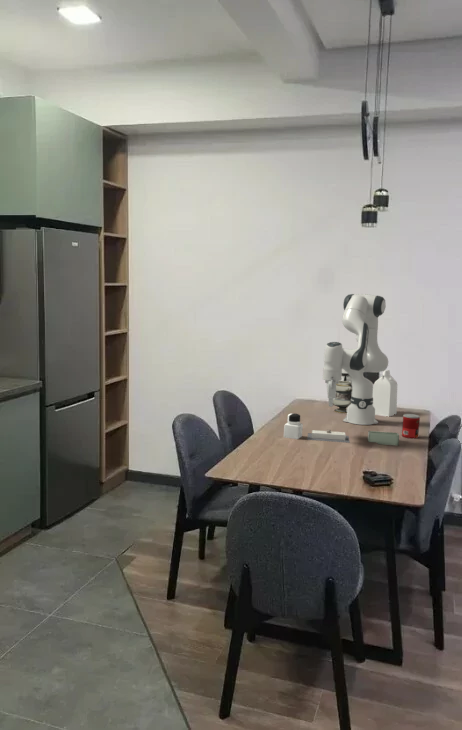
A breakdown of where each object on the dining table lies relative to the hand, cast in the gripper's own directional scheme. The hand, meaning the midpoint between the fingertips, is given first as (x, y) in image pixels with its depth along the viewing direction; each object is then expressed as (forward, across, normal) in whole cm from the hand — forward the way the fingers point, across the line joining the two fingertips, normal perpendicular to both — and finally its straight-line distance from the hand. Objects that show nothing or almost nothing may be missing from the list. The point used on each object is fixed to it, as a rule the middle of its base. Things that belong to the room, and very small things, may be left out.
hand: (330, 404), depth 307 cm
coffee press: (+17, +94, -11) cm, 96 cm away
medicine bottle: (+18, -3, +17) cm, 25 cm away
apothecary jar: (+17, +73, -9) cm, 76 cm away
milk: (+17, +74, -33) cm, 83 cm away
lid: (+16, 0, 0) cm, 16 cm away
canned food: (+18, +18, -41) cm, 48 cm away
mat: (+17, 0, 0) cm, 17 cm away
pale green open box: (+17, 0, -26) cm, 31 cm away
